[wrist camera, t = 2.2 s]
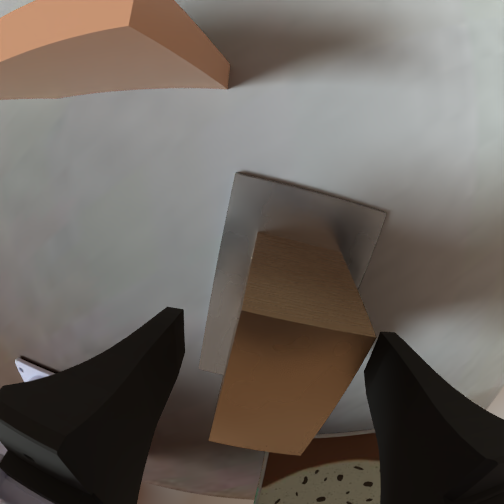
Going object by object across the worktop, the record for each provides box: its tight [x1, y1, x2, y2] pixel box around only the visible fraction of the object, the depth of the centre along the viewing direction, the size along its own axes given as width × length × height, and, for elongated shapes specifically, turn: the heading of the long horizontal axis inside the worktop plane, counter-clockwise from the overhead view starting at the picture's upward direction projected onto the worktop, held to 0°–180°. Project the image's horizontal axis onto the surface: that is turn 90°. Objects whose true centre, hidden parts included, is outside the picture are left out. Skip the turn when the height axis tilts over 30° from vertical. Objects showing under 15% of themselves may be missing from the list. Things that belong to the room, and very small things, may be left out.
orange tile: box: [0, 0, 230, 100], centre depth 6 cm, size 1×8×8 cm, turn 85°
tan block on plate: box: [199, 172, 386, 456], centre depth 11 cm, size 10×6×6 cm, turn 167°
